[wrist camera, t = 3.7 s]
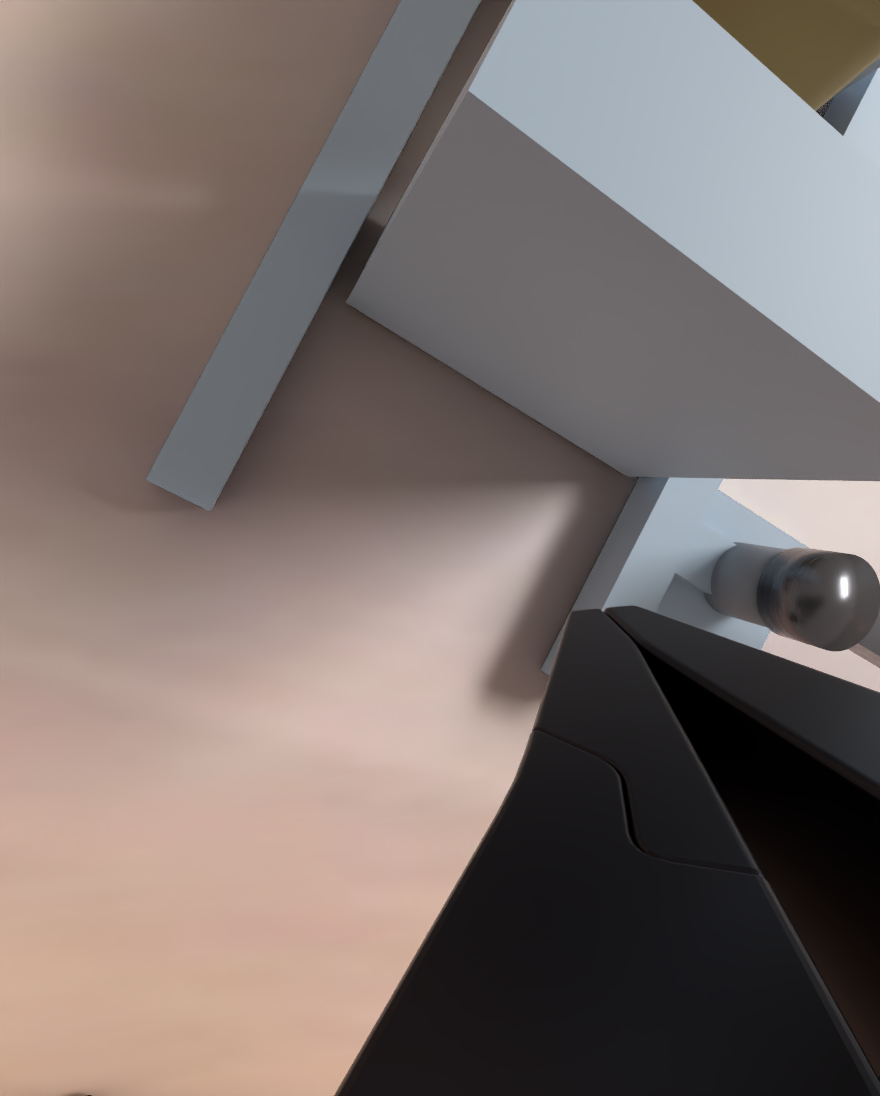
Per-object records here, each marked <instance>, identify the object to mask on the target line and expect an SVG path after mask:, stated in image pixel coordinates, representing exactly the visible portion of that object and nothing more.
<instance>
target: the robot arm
mask: <svg viewBox="0 0 880 1096" xmlns="http://www.w3.org/2000/svg"><path fill="white" fill-rule="evenodd" d="M88 1096H91V1095H88ZM334 1096H880V692H877V691H874V690H871V689H868V688H866V687H863V686H860V685H857V684H854V683H852V682H849V681H846V680H843V679H840V678H838V677H835V676H832V675H829V674H826V673H823V672H821V671H818V670H815V669H812V668H809V667H807V666H804V665H801V664H798V663H795V662H793V661H790V660H787V659H784V658H781V657H779V656H776V655H773V654H770V653H767V652H765V651H762V650H759V649H756V648H753V647H751V646H748V645H745V644H742V643H739V642H737V641H734V640H731V639H728V638H725V637H723V636H720V635H717V634H714V633H711V632H708V631H706V630H703V629H700V628H697V627H694V626H692V625H689V624H686V623H683V622H680V621H678V620H675V619H672V618H669V617H666V616H664V615H661V614H658V613H655V612H652V611H650V610H647V609H644V608H641V607H638V606H633V605H629V606H618V607H609V608H606V609H605V610H604V611H602V610H600V609H597V608H596V609H585V610H574V611H571V612H570V613H569V614H568V617H567V620H566V623H565V627H564V630H563V633H562V636H561V639H560V643H559V646H558V649H557V652H556V656H555V659H554V662H553V665H552V668H551V672H550V675H549V678H548V681H547V685H546V688H545V691H544V694H543V697H542V701H541V704H540V707H539V710H538V714H537V717H536V720H535V723H534V726H533V730H532V733H531V734H530V737H529V740H528V743H527V746H526V749H525V752H524V755H523V758H522V760H521V763H520V765H519V768H518V771H517V773H516V776H515V778H514V781H513V783H512V785H511V787H510V789H509V791H508V793H507V795H506V797H505V799H504V801H503V803H502V804H501V806H500V808H499V810H498V812H497V814H496V816H495V818H494V819H493V821H492V823H491V825H490V826H489V828H488V830H487V832H486V833H485V835H484V837H483V838H482V840H481V842H480V844H479V845H478V847H477V849H476V851H475V852H474V854H473V856H472V858H471V859H470V861H469V863H468V864H467V866H466V868H465V870H464V871H463V873H462V875H461V877H460V878H459V880H458V882H457V884H456V885H455V887H454V889H453V890H452V892H451V894H450V896H449V897H448V899H447V901H446V903H445V904H444V906H443V908H442V910H441V911H440V913H439V915H438V916H437V918H436V920H435V922H434V923H433V925H432V927H431V929H430V930H429V932H428V934H427V936H426V937H425V939H424V941H423V942H422V944H421V946H420V948H419V949H418V951H417V953H416V955H415V956H414V958H413V960H412V962H411V963H410V965H409V967H408V969H407V970H406V972H405V974H404V975H403V977H402V979H401V981H400V982H399V984H398V986H397V988H396V989H395V991H394V993H393V995H392V996H391V998H390V1000H389V1001H388V1003H387V1005H386V1007H385V1008H384V1010H383V1012H382V1014H381V1015H380V1017H379V1019H378V1021H377V1022H376V1024H375V1026H374V1027H373V1029H372V1031H371V1033H370V1034H369V1036H368V1038H367V1040H366V1041H365V1043H364V1045H363V1047H362V1048H361V1050H360V1052H359V1053H358V1055H357V1057H356V1059H355V1060H354V1062H353V1064H352V1066H351V1067H350V1069H349V1071H348V1073H347V1074H346V1076H345V1078H344V1079H343V1081H342V1083H341V1085H340V1086H339V1088H338V1090H337V1092H336V1093H335V1095H334Z"/></svg>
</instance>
